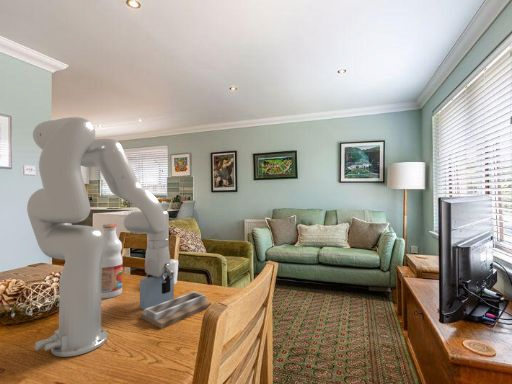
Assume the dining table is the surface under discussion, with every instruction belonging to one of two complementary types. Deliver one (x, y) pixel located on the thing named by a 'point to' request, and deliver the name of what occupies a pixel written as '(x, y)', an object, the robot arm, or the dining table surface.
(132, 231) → the robot arm
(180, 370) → the dining table surface
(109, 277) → the fruit juice
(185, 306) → the track plinth
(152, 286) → the plain gray rectangular block
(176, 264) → the white cup
